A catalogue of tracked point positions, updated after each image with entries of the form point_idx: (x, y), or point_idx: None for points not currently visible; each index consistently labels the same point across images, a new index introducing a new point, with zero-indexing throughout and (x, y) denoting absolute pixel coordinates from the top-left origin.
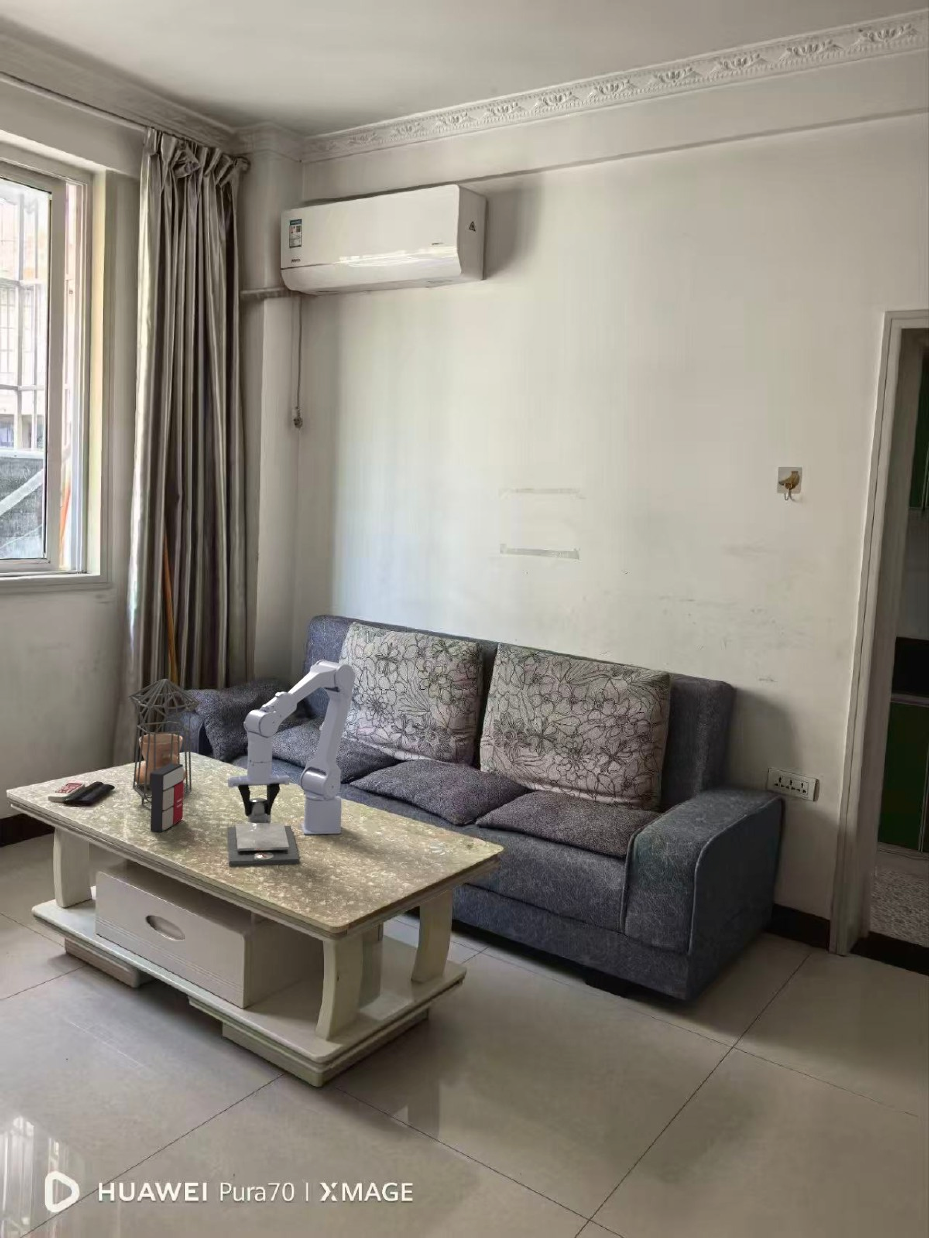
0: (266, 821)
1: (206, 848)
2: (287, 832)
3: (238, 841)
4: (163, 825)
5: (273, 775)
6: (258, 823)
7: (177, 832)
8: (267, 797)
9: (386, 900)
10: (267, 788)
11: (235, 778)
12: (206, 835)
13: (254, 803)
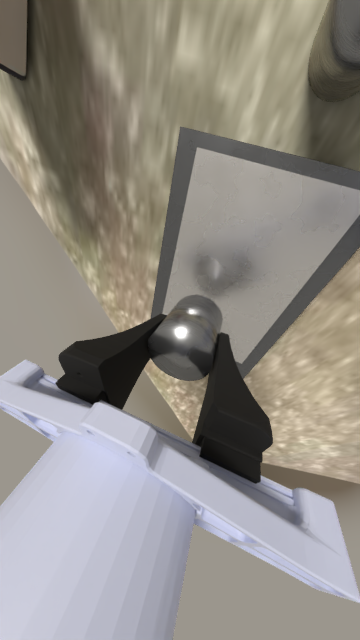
0: (357, 84)
1: (127, 255)
2: (328, 259)
3: (167, 301)
4: (8, 67)
5: (237, 521)
6: (273, 172)
7: (62, 95)
8: (213, 375)
9: (263, 460)
10: (207, 406)
11: (16, 414)
12: (130, 157)
13: (161, 367)
